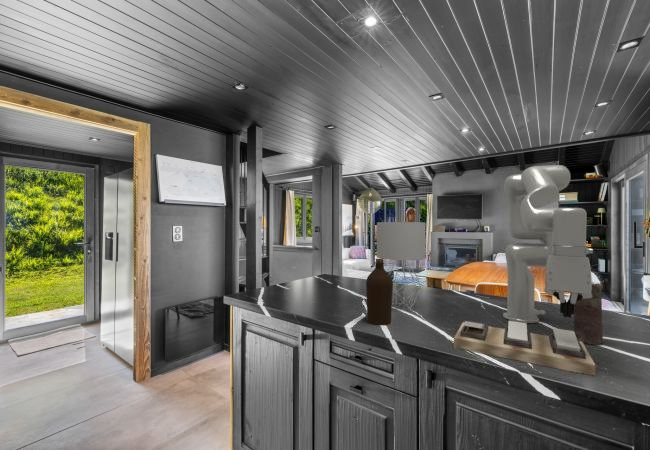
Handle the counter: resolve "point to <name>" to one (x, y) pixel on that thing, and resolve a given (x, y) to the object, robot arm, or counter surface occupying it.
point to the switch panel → (524, 348)
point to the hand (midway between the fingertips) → (566, 316)
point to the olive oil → (379, 295)
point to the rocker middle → (517, 331)
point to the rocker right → (566, 340)
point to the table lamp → (401, 247)
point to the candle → (589, 317)
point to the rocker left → (475, 325)
